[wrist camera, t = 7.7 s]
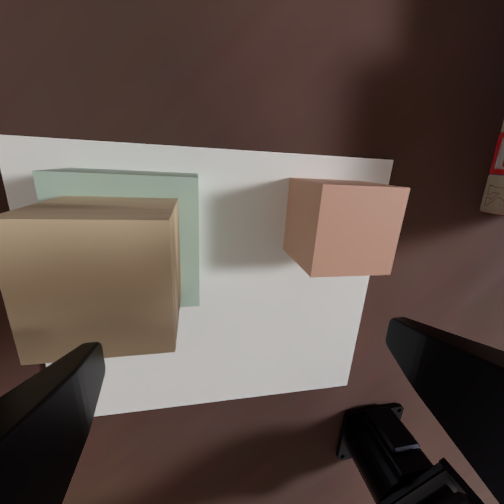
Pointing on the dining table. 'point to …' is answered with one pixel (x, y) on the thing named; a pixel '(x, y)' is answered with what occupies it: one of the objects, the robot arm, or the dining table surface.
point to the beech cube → (91, 275)
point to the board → (225, 275)
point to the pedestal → (138, 185)
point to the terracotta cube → (343, 226)
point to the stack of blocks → (495, 181)
